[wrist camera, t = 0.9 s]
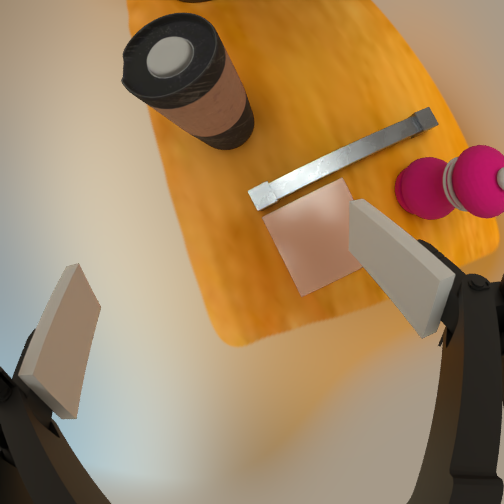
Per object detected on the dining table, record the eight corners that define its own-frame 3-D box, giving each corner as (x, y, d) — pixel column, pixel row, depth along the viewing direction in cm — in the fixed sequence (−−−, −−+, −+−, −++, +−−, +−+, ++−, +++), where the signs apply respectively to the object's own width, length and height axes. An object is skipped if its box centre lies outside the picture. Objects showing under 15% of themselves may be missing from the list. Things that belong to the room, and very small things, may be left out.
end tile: (341, 177, 35) (342, 177, 34) (378, 257, 36) (379, 258, 35) (262, 217, 37) (261, 217, 36) (301, 295, 38) (301, 297, 37)
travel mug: (269, 118, 35) (243, 34, 16) (230, 164, 37) (166, 120, 17) (223, 87, 35) (166, 0, 16) (186, 131, 37) (100, 74, 17)
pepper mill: (382, 172, 34) (464, 140, 15) (427, 155, 33) (522, 120, 13) (402, 226, 35) (495, 244, 15) (445, 207, 34) (549, 210, 14)
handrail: (415, 116, 32) (429, 106, 28) (424, 132, 33) (438, 124, 28) (252, 193, 37) (247, 191, 32) (261, 210, 37) (257, 210, 33)
